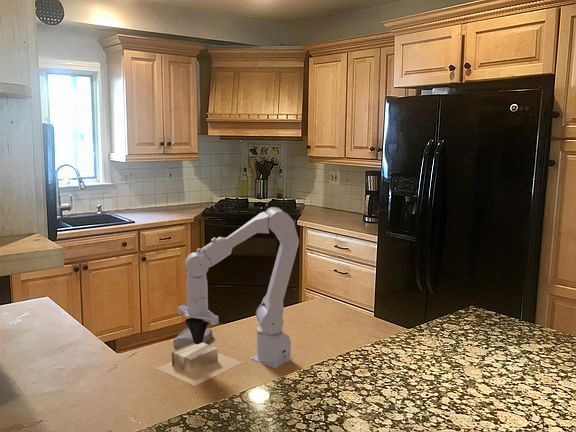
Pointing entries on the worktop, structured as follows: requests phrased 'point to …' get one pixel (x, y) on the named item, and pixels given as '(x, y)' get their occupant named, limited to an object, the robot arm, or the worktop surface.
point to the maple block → (194, 357)
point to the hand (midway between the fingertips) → (198, 342)
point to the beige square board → (201, 370)
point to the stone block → (190, 338)
